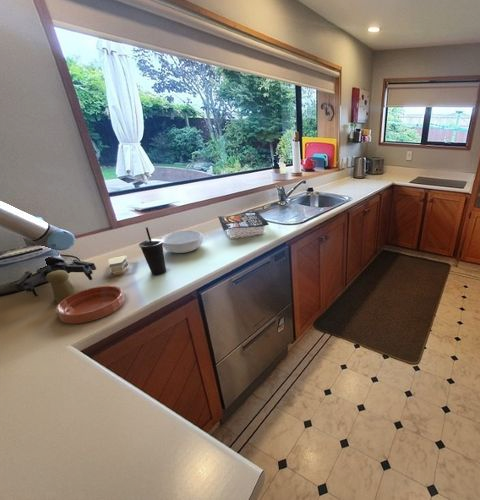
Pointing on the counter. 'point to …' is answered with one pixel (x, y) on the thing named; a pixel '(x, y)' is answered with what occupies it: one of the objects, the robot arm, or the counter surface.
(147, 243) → the drinking cup
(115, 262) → the sandwich
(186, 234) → the cereal bowl
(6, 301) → the counter surface
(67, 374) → the counter surface
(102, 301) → the dish
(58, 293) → the cork
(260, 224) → the food packaging
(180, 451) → the counter surface
